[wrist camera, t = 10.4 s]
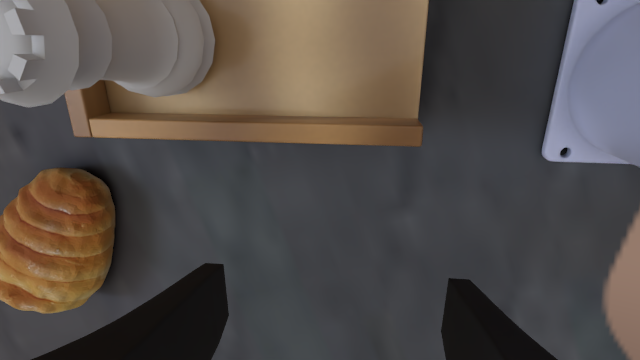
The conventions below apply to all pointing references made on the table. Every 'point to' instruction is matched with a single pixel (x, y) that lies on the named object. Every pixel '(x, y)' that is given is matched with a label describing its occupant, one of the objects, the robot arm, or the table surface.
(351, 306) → the table surface
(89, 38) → the rook chess piece
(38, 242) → the pastry
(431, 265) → the table surface
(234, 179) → the table surface
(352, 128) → the wooden tray
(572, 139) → the robot arm
